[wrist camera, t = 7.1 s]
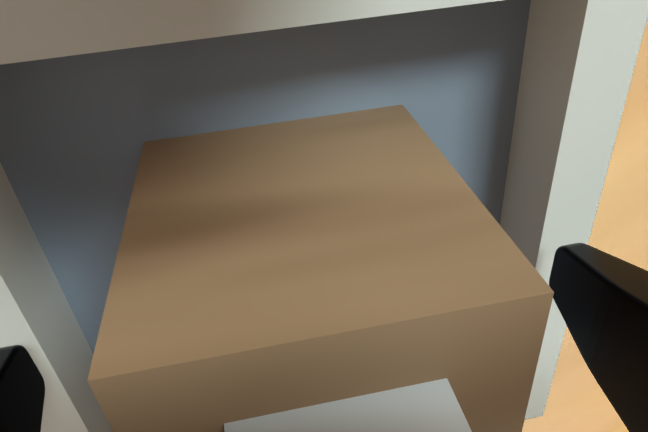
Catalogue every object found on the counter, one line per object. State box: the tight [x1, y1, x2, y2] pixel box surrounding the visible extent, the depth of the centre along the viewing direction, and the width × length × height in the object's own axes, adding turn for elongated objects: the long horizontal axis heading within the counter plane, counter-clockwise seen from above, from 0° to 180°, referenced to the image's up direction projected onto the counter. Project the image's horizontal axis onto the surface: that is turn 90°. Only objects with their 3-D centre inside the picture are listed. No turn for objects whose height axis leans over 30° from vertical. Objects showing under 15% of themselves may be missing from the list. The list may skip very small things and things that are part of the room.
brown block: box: [87, 105, 554, 432], centre depth 8 cm, size 5×4×6 cm
